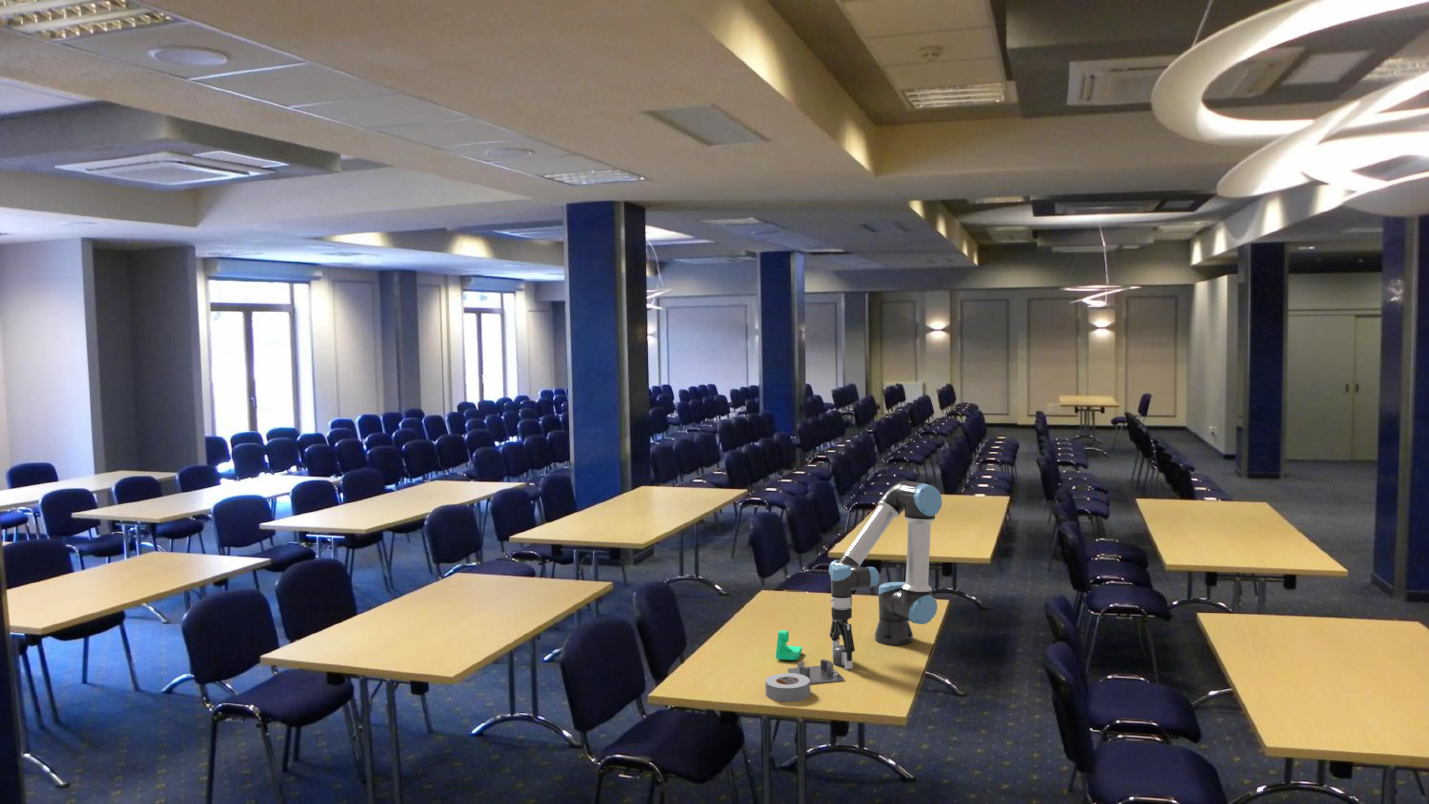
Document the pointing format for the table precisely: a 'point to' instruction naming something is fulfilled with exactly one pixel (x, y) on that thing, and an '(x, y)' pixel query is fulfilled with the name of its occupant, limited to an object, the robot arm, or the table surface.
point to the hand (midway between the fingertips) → (842, 663)
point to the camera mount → (786, 647)
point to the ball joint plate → (818, 672)
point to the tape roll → (787, 687)
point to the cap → (839, 655)
